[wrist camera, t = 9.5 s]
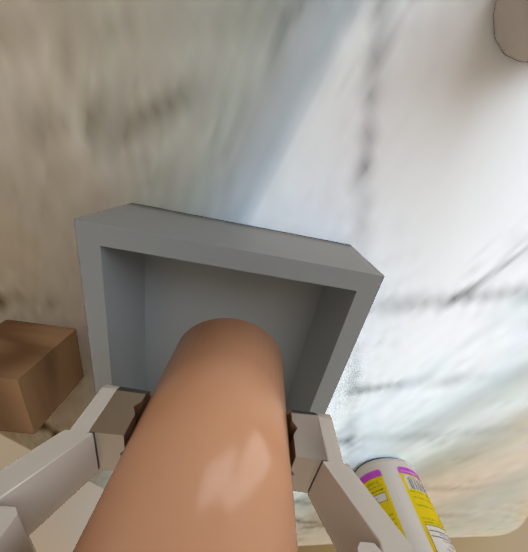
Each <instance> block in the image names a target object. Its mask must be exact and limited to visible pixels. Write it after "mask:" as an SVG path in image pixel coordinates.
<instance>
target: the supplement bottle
mask: <svg viewBox="0 0 528 552" xmlns="http://www.w3.org/2000/svg"><path fill="white" fill-rule="evenodd" d="M355 474H356V475H357V477H358V478H359V479H360V480H361V482H362V483H363V484H364V486H365V487H366V488H367V489H368V491H369V492H370V493H371V494H372V496H373V497H374V498H375V500H376V501H377V502H378V503H379V505H380V506H381V507H382V508H383V510H384V511H385V512H386V514H387V515H388V516H389V517H390V519H391V520H392V521H393V522H394V524H395V525H396V526H397V528H398V529H399V530H400V531H401V533H402V534H403V535H404V537H405V538H406V539H407V540H408V542H409V543H410V544H411V545H412V548H413V550H414V552H456V551H455V549H454V547H453V545H452V543H451V541H450V539H449V537H448V535H447V533H446V531H445V529H444V527H443V525H442V523H441V521H440V519H439V517H438V515H437V513H436V511H435V509H434V507H433V505H432V503H431V501H430V499H429V497H428V495H427V493H426V491H425V489H424V487H423V485H422V483H421V481H420V479H419V477H418V476H417V474H416V472H415V470H414V469H413V468H412V467H411V465H409V464H408V463H407V462H405V461H403V460H400V459H396V458H381V459H375V460H372V461H369V462H367V463H365V464H363V465H362V466H361V467H359V468H358V469H357V471H356V472H355Z"/></svg>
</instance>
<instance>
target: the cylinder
mask: <svg viewBox="0 0 528 552" xmlns="http://www.w3.org/2000/svg"><path fill="white" fill-rule="evenodd" d="M73 552H298V547H297V535H296V522H295V510H294V498H293V486H292V474H291V462H290V449H289V437H288V425H287V413H286V401H285V389H284V376H283V364H282V356H281V352H280V349H279V347H278V345H277V343H276V342H275V341H274V339H273V338H272V337H271V336H270V335H269V334H268V333H267V332H266V331H264V330H263V329H261V328H260V327H258V326H256V325H254V324H252V323H250V322H247V321H244V320H239V319H233V318H217V319H211V320H207V321H204V322H201V323H199V324H197V325H195V326H193V327H192V328H190V329H189V330H188V331H187V332H186V333H185V334H184V335H183V336H182V337H181V339H180V340H179V342H178V344H177V346H176V348H175V350H174V352H173V354H172V356H171V358H170V360H169V362H168V364H167V366H166V368H165V370H164V372H163V374H162V376H161V378H160V380H159V382H158V384H157V386H156V388H155V390H154V392H153V394H152V396H151V398H150V400H149V402H148V404H147V406H146V408H145V410H144V412H143V414H142V416H141V418H140V419H139V421H138V423H137V425H136V427H135V429H134V431H133V433H132V435H131V437H130V439H129V441H128V443H127V445H126V447H125V449H124V451H123V453H122V455H121V457H120V459H119V461H118V463H117V465H116V467H115V469H114V471H113V473H112V475H111V477H110V479H109V481H108V483H107V485H106V487H105V489H104V491H103V493H102V495H101V497H100V499H99V501H98V503H97V505H96V507H95V509H94V511H93V513H92V515H91V517H90V519H89V521H88V523H87V525H86V527H85V529H84V531H83V533H82V535H81V537H80V539H79V541H78V543H77V544H76V547H75V549H74V550H73Z"/></svg>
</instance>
